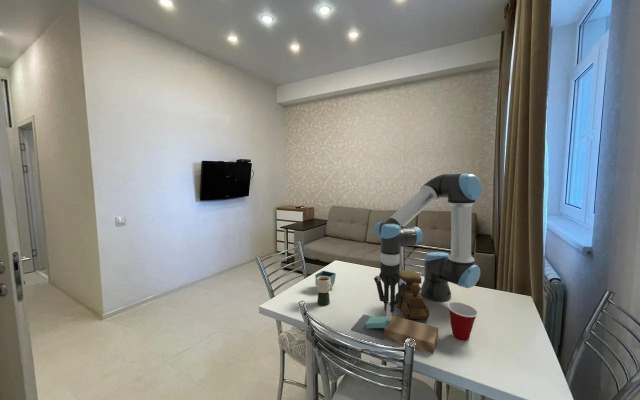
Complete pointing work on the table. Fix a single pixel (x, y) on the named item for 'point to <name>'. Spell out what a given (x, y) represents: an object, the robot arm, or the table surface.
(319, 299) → the character mug
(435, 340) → the brown rectangular block
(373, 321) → the teal rectangular block
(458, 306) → the plastic cup
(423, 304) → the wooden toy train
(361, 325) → the mat
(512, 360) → the table surface
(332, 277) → the flower pot
